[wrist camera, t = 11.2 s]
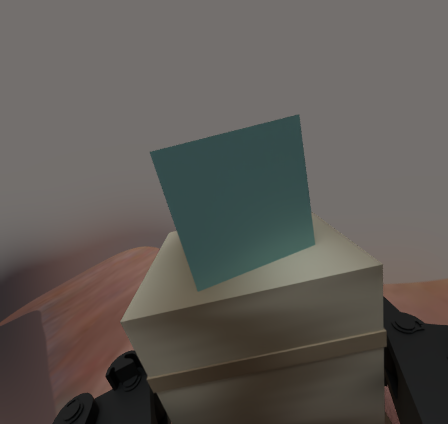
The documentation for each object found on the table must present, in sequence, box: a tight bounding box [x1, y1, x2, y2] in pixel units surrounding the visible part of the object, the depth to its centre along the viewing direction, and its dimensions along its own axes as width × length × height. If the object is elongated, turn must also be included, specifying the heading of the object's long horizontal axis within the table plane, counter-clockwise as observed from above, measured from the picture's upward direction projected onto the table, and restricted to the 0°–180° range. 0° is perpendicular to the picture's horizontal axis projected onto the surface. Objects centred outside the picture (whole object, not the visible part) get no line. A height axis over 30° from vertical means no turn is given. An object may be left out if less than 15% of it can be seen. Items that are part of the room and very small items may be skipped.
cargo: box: [150, 115, 315, 292], centre depth 8 cm, size 4×4×4 cm
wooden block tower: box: [121, 212, 387, 424], centre depth 10 cm, size 8×7×12 cm
